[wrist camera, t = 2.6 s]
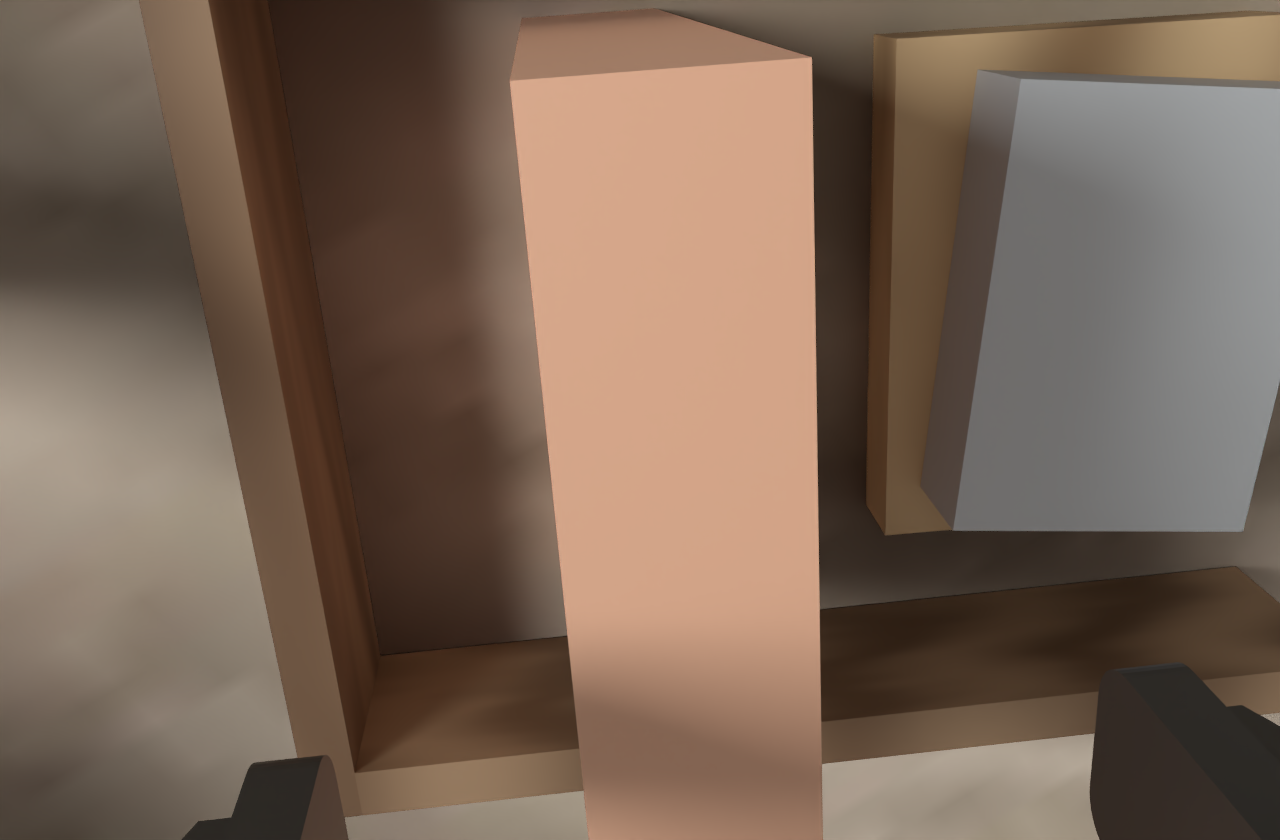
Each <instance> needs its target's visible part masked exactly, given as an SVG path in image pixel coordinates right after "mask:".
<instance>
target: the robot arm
mask: <svg viewBox="0 0 1280 840" xmlns="http://www.w3.org/2000/svg"><path fill="white" fill-rule="evenodd" d="M1090 803H1091V811H1092V816H1093V820H1094V824H1095V828H1096V831H1097V834H1098V836H1099V839H1100V840H1280V726H1278V725H1276V724H1275V723H1273V722H1271V721H1269V720H1268V719H1266V718H1264V717H1262V716H1261V715H1259V714H1257V713H1255V712H1254V711H1252V710H1250V709H1248V708H1247V707H1245V706H1243V705H1237V706H1228V707H1226V706H1225V704H1224V703H1223V702H1222V701H1221V700H1220V699H1219V698H1218V697H1217V696H1216V695H1215V694H1214V693H1213V692H1212V691H1211V690H1210V689H1209V688H1208V687H1207V685H1206V684H1205V683H1204V682H1203V681H1202V680H1201V679H1200V678H1199V677H1198V676H1197V675H1196V674H1195V673H1194V672H1193V671H1192V670H1191V669H1190V668H1189V667H1188V666H1186V665H1185V664H1183V663H1179V662H1176V663H1166V664H1158V665H1149V666H1140V667H1131V668H1122V669H1113V670H1108V671H1106V672H1105V674H1104V675H1103V677H1102V679H1101V682H1100V686H1099V693H1098V704H1097V715H1096V726H1095V737H1094V748H1093V759H1092V770H1091V781H1090ZM182 840H349V839H348V834H347V829H346V824H345V819H344V814H343V809H342V804H341V799H340V794H339V789H338V783H337V778H336V774H335V769H334V766H333V763H332V760H331V758H330V757H329V756H328V755H320V756H311V757H302V758H293V759H284V760H275V761H266V762H257V763H253V764H252V765H251V766H250V767H249V769H248V771H247V774H246V777H245V780H244V783H243V785H242V788H241V791H240V794H239V797H238V800H237V803H236V806H235V809H234V812H233V815H232V817H231V818H224V819H215V820H206V821H198V822H197V824H196V825H195V826H194V827H193V828H192V829H191V830H190V831H189V832H188V833H187V834H186V835H185V837H184V838H183V839H182Z"/></svg>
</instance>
